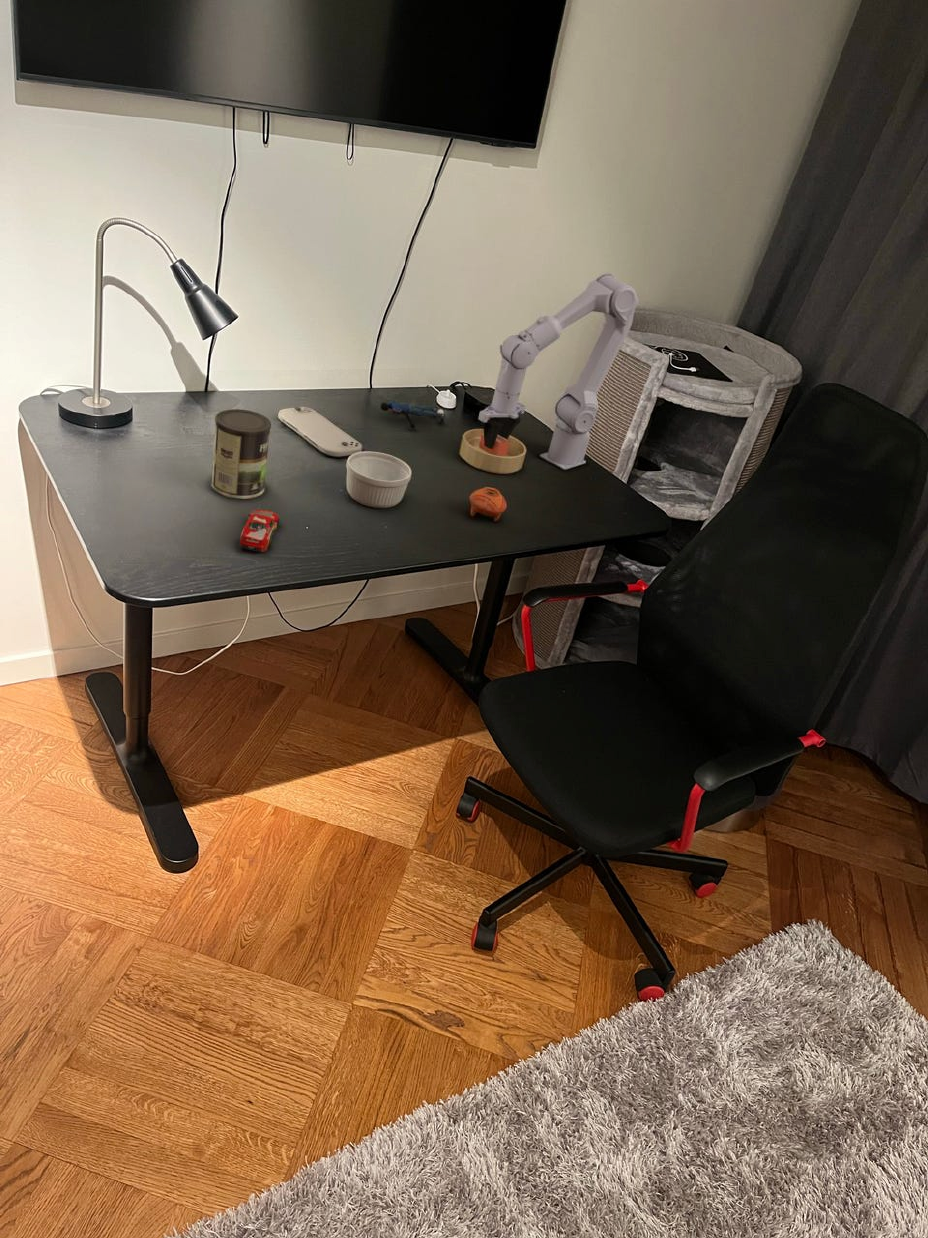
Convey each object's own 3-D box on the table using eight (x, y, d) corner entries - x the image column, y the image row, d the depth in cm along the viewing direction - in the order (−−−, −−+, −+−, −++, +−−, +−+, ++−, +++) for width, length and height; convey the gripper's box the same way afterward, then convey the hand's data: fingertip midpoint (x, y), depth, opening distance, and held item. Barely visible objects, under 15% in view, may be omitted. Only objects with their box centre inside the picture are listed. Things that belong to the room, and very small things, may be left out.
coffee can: (267, 479, 184) (274, 414, 176) (261, 503, 176) (267, 435, 168) (215, 470, 182) (219, 404, 175) (206, 494, 174) (210, 425, 166)
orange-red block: (489, 444, 217) (492, 430, 215) (507, 454, 214) (510, 440, 212) (478, 447, 214) (482, 433, 212) (496, 457, 212) (499, 443, 210)
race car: (252, 516, 171) (254, 497, 169) (281, 522, 171) (283, 504, 169) (234, 550, 160) (236, 530, 158) (265, 556, 160) (267, 537, 158)
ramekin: (415, 495, 192) (421, 465, 189) (390, 518, 182) (396, 487, 178) (358, 474, 195) (363, 444, 191) (331, 496, 184) (335, 465, 180)
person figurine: (428, 417, 234) (367, 408, 223) (433, 400, 232) (372, 391, 221) (449, 435, 226) (387, 427, 216) (455, 418, 224) (392, 410, 214)
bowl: (487, 441, 224) (491, 424, 222) (534, 467, 217) (539, 450, 215) (445, 452, 214) (449, 434, 211) (494, 480, 207) (498, 462, 204)
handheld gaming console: (273, 406, 208) (309, 402, 214) (272, 417, 209) (308, 413, 216) (331, 450, 195) (368, 444, 202) (329, 461, 197) (366, 455, 203)
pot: (463, 501, 194) (477, 475, 191) (496, 516, 196) (510, 490, 192) (462, 518, 187) (477, 490, 184) (496, 533, 189) (511, 506, 185)
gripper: (501, 401, 199) (487, 457, 207) (540, 392, 209) (525, 447, 217) (477, 388, 202) (464, 444, 210) (517, 381, 213) (503, 434, 220)
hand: (494, 445), depth 214 cm, fingers closed on orange-red block, 4 cm apart
